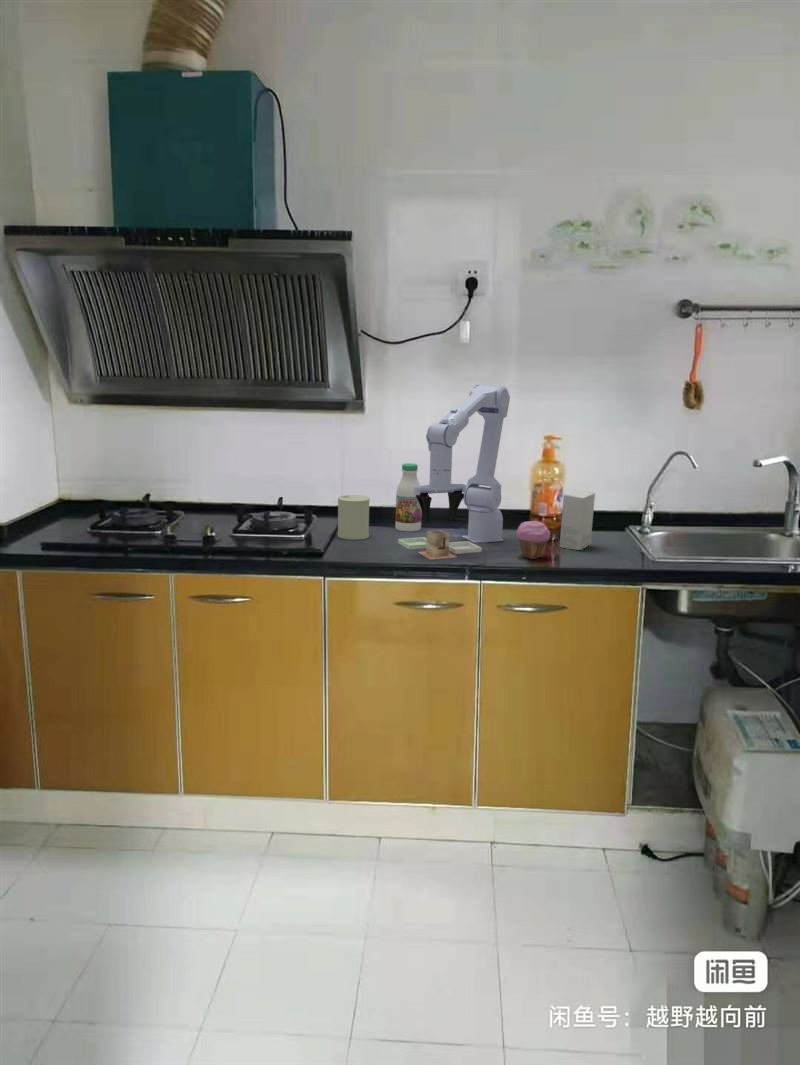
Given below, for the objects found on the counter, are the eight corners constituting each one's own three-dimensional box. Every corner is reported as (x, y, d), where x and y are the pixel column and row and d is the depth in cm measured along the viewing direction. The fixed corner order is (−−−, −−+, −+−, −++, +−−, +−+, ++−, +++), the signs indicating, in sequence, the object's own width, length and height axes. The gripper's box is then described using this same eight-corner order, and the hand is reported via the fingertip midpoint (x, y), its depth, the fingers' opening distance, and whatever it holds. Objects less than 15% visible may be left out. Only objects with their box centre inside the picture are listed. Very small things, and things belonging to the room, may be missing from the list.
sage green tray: (423, 542, 246) (424, 537, 246) (435, 548, 239) (435, 543, 238) (397, 544, 243) (398, 539, 242) (409, 550, 236) (409, 545, 235)
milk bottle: (394, 527, 264) (395, 462, 260) (419, 527, 265) (421, 462, 261) (396, 532, 257) (398, 466, 252) (422, 532, 258) (424, 466, 253)
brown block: (440, 551, 234) (441, 529, 232) (448, 555, 230) (449, 533, 229) (426, 553, 232) (426, 531, 231) (434, 557, 228) (434, 534, 227)
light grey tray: (468, 546, 243) (468, 541, 242) (481, 553, 235) (481, 547, 235) (442, 548, 239) (442, 543, 239) (455, 555, 232) (455, 549, 232)
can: (347, 532, 256) (348, 492, 254) (374, 536, 252) (375, 495, 249) (331, 538, 248) (331, 497, 246) (359, 542, 244) (359, 500, 241)
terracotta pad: (444, 551, 236) (444, 549, 236) (457, 558, 229) (457, 556, 229) (417, 553, 233) (417, 551, 233) (430, 561, 226) (430, 559, 226)
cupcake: (532, 563, 226) (534, 525, 224) (508, 556, 233) (510, 519, 231) (555, 558, 232) (557, 521, 230) (531, 551, 238) (533, 516, 236)
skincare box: (571, 542, 250) (574, 489, 246) (592, 546, 246) (596, 492, 243) (558, 548, 243) (562, 493, 240) (580, 551, 239) (584, 496, 236)
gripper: (458, 465, 234) (456, 514, 237) (409, 468, 229) (408, 518, 232) (470, 469, 228) (468, 520, 231) (420, 472, 222) (419, 524, 225)
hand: (439, 519), depth 231 cm, fingers open, 7 cm apart
